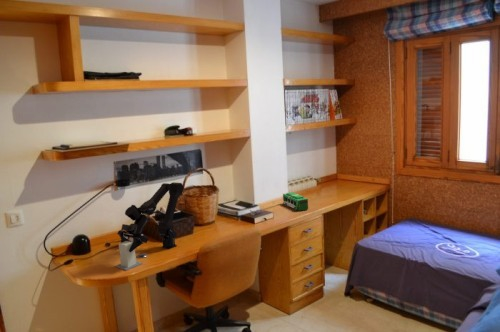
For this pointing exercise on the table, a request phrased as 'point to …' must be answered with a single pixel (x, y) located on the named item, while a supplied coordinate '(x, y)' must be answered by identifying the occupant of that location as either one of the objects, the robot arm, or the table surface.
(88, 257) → the table surface
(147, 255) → the cable grommet
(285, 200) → the toy bus
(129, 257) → the sage pillar
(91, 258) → the table surface
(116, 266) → the slate mat
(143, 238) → the robot arm
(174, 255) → the table surface
